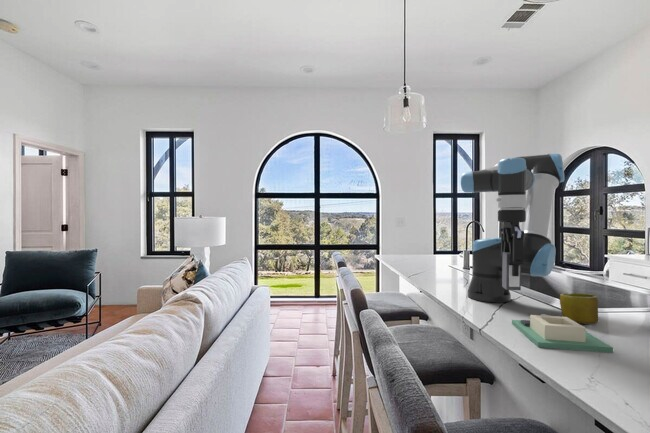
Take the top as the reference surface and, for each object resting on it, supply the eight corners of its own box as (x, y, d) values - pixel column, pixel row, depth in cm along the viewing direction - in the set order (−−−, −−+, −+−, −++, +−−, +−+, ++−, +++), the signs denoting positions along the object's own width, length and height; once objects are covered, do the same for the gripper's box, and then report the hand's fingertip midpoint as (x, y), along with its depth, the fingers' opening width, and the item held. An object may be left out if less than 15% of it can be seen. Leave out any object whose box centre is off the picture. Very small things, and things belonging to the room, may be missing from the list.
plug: (501, 286, 107) (502, 251, 107) (515, 286, 107) (515, 251, 106) (506, 289, 103) (506, 254, 102) (520, 290, 102) (521, 254, 102)
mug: (614, 322, 96) (598, 287, 99) (576, 330, 98) (561, 296, 101) (593, 318, 108) (579, 287, 110) (559, 325, 110) (546, 295, 112)
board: (511, 323, 100) (512, 307, 100) (572, 327, 97) (572, 311, 97) (537, 347, 82) (538, 327, 82) (613, 352, 79) (613, 332, 79)
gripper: (490, 209, 113) (489, 278, 114) (508, 209, 96) (507, 291, 97) (514, 208, 112) (514, 279, 112) (537, 209, 95) (536, 292, 95)
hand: (511, 284), depth 105 cm, fingers closed on plug, 4 cm apart
